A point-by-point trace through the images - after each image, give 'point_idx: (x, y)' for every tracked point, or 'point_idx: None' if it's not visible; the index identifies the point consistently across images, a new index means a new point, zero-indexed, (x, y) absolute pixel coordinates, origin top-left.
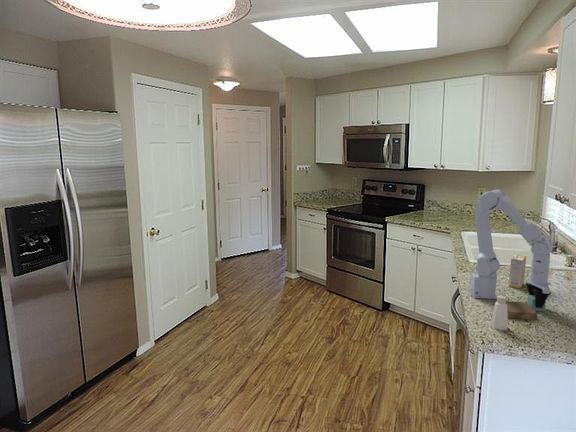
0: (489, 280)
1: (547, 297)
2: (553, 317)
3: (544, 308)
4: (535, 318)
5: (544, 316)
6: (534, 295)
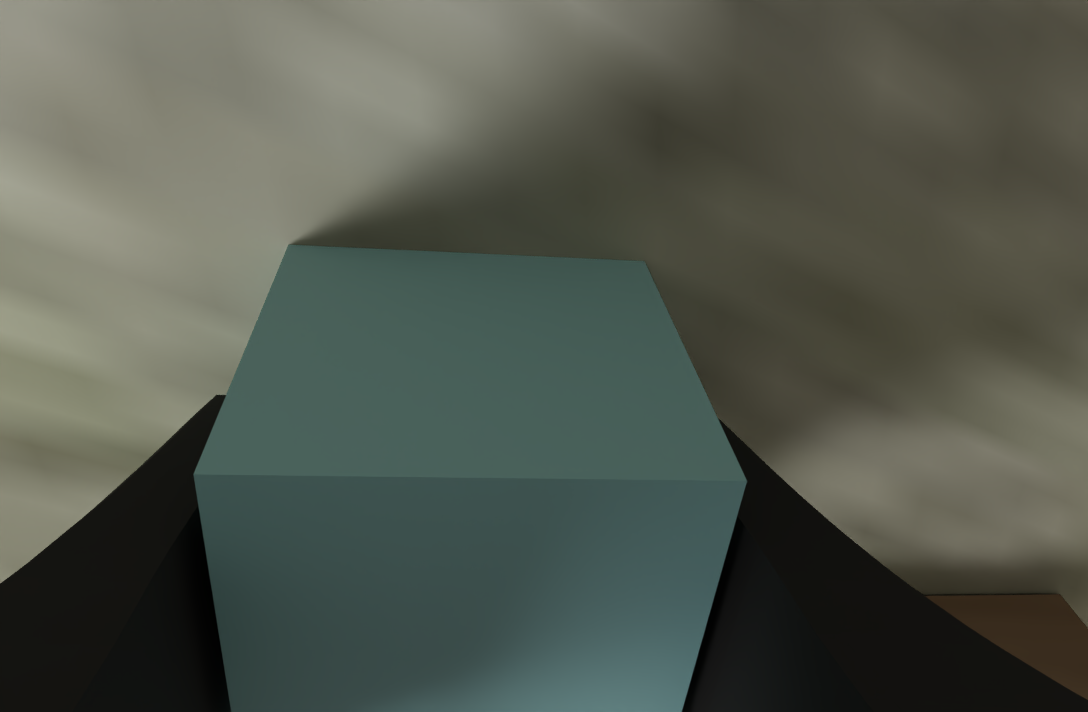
0: None
1: (1036, 670)
2: (1058, 235)
3: (655, 309)
4: (1069, 629)
5: (956, 406)
6: (247, 669)
